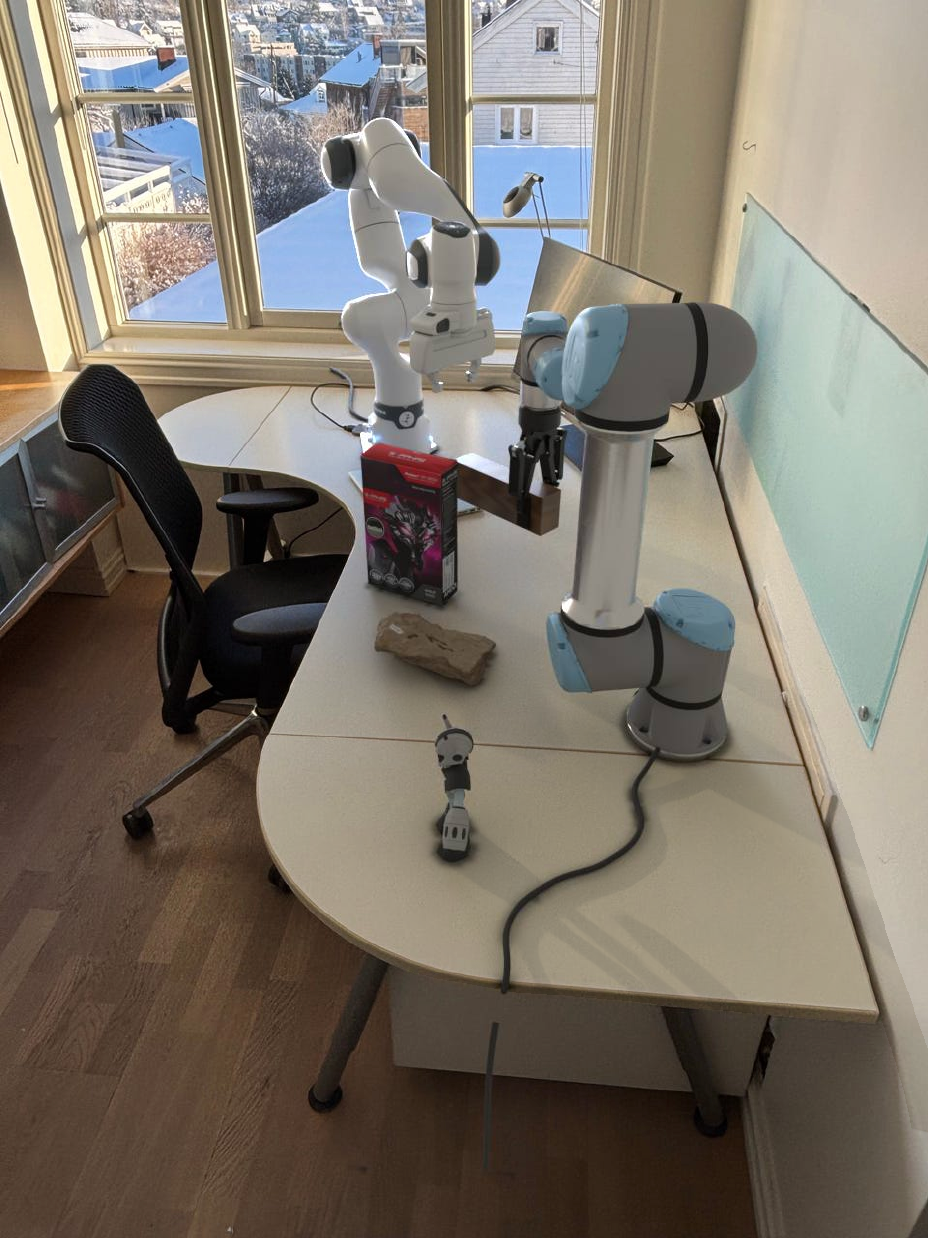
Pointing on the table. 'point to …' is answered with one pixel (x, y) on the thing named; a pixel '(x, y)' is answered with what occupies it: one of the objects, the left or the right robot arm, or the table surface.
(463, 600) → the table surface
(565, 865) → the table surface
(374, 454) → the graphics card box
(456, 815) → the robot
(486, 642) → the stone
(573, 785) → the table surface
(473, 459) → the bar
